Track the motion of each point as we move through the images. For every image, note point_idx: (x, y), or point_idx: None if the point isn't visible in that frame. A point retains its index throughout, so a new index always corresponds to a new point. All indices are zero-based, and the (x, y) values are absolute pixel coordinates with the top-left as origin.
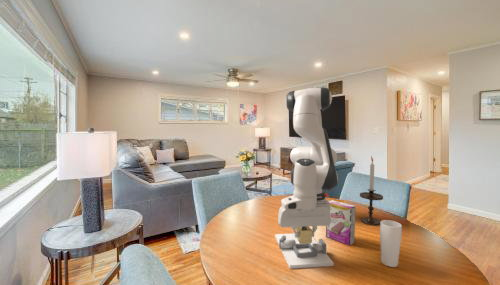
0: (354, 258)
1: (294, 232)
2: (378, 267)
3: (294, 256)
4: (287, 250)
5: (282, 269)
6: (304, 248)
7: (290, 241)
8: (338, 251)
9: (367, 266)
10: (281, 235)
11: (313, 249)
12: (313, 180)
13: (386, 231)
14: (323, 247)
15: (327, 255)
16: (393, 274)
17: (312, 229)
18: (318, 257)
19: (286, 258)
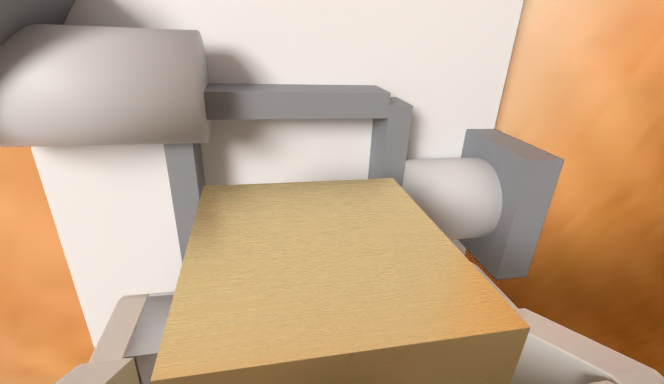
0: (618, 237)
1: (98, 366)
2: (648, 314)
3: (166, 257)
4: (97, 147)
5: (44, 355)
6: (320, 120)
7: (113, 126)
8: (598, 144)
9: (609, 308)
10: None
11: None
12: None
13: None
14: (480, 262)
15: (465, 248)
16: (652, 355)
17: (526, 365)
18: None
19: (75, 282)
